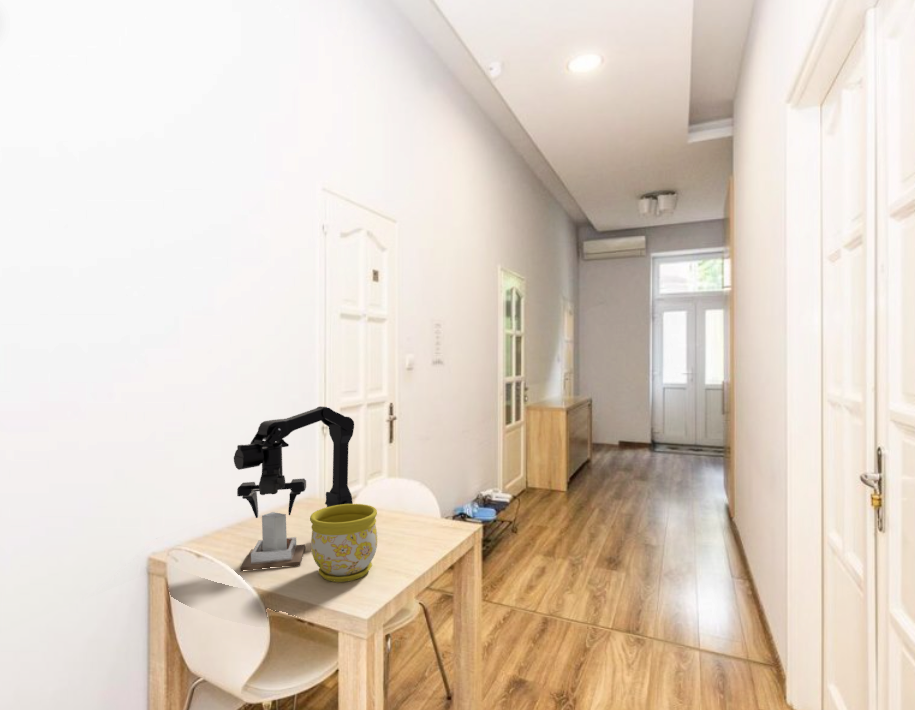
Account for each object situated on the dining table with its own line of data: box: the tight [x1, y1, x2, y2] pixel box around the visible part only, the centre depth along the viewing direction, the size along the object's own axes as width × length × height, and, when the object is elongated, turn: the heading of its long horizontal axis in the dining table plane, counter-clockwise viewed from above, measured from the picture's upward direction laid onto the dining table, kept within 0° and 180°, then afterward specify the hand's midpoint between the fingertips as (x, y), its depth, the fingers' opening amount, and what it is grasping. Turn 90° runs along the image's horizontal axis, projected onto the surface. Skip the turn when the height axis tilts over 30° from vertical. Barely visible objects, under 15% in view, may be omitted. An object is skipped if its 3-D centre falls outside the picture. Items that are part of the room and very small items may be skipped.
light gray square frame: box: [251, 536, 297, 564], centre depth 151 cm, size 11×11×3 cm
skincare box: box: [261, 511, 288, 551], centre depth 151 cm, size 6×4×12 cm
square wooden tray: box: [240, 543, 306, 572], centre depth 151 cm, size 16×14×1 cm
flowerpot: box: [309, 503, 378, 583], centre depth 140 cm, size 18×18×16 cm
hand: (273, 516), depth 151 cm, fingers open, 9 cm apart
